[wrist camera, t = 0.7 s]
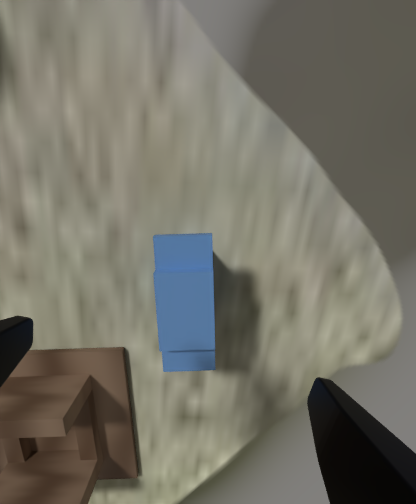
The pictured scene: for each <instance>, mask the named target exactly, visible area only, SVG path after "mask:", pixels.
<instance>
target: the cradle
mask: <svg viewBox="0 0 416 504" xmlns="http://www.w3.org/2000/svg"><path fill="white" fill-rule="evenodd" d="M137 477H138V464H137V455H136V447H135V438H134V429H133V421H132V412H131V403H130V395H129V386H128V377H127V369H126V360H125V351H124V347H116V348H85V349H54V350H29V351H28V352H27V353H26V355H25V356H24V357H23V359H22V360H21V361H20V363H19V364H18V365H17V367H16V368H15V369H14V371H13V372H12V373H11V375H10V376H9V377H8V378H7V380H6V381H5V382H4V384H3V385H2V386H1V388H0V504H88V502H89V499H90V497H91V494H92V491H93V489H94V486H95V483H96V480H98V479H126V478H137Z"/></svg>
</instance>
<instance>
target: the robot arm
mask: <svg viewBox="0 0 416 504" xmlns="http://www.w3.org/2000/svg"><path fill="white" fill-rule="evenodd" d="M32 343H33V320H32V319H31V318H28V317H23V316H14V317H11V318H7V319H4V320H0V388H1V386H2V385H3V384H4V382H5V381H6V380H7V378H8V377H9V376H10V375H11V373H12V372H13V371H14V369H15V368H16V367H17V365H18V364H19V363H20V361H21V360H22V359H23V357H24V356H25V355H26V353H27V352H28V351H29V349H30V348H31V346H32ZM307 404H308V410H309V416H310V421H311V426H312V432H313V437H314V443H315V447H316V453H317V457H318V462H319V465H320V469H321V473H322V477H323V480H324V484H325V487H326V491H327V494H328V498H329V501H330V504H416V454H415V453H414V452H413V451H412V450H411V449H410V448H409V447H407V446H406V445H405V444H404V443H403V442H402V441H401V440H399V439H398V438H397V437H396V436H395V435H394V434H393V433H391V432H390V431H389V430H388V429H387V428H386V427H384V426H383V425H382V424H381V423H380V422H379V421H378V420H376V419H375V418H374V417H373V416H372V415H371V414H369V413H368V412H367V411H366V410H365V409H364V408H363V407H361V406H360V405H359V404H358V403H357V402H356V401H354V400H353V399H352V398H351V397H350V396H349V395H348V394H346V393H345V392H344V391H343V390H342V389H341V388H340V387H338V386H337V385H336V384H335V383H334V382H333V381H331V380H329V379H325V378H320V377H318V378H316V379H315V381H314V383H313V386H312V389H311V391H310V394H309V396H308V401H307Z"/></svg>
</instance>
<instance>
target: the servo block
mask: <svg viewBox="0 0 416 504" xmlns="http://www.w3.org/2000/svg"><path fill="white" fill-rule="evenodd" d="M153 241H154V254H155V267H156V270H155V272H154V273H153V274H154V286H155V299H156V312H157V324H158V337H159V350H160V351H162V358H163V371H164V372H172V371H201V370H215V322H214V278H213V250H212V233H199V234H165V235H154V236H153Z"/></svg>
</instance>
